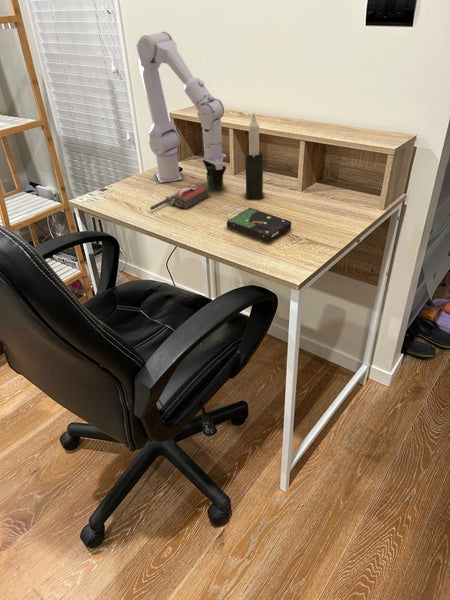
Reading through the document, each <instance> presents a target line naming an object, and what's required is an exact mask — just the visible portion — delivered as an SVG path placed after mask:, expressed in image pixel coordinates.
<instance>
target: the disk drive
mask: <svg viewBox="0 0 450 600" xmlns="http://www.w3.org/2000/svg"><path fill="white" fill-rule="evenodd" d="M226 228H227V229H229V230H231V231H234V232H237V233H239V234H242V235H245V236H247V237H249V238H252V239H255V240H258V241H260V242H263V243H267V244H269V243H271V242H273V241H274V240H276V239H278V238H280V237H281V236H283V235H285V234H286V233H288V232H289V231H290V230H292V221H291V220H288V219H286V218H282V217H279V216H276V215H273V214H270V213H266V212H264V211H261V210H258V209H255V208H252V207H248V208H247V209H245V210H243V211H240V212H239V213H237V214H236V215H234V216H233V217H231V218H227V221H226Z"/></svg>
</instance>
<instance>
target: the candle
mask: <svg viewBox="0 0 450 600" xmlns="http://www.w3.org/2000/svg"><path fill="white" fill-rule="evenodd" d="M251 115H252V117H251V121H250V122H249V125H248V145H249V146H248V149H249V150H248V152H247V153H246V154H245V157H244V158H245V198H246V199H247V200H262V199H263V196H264V154H263V153H262V152H261V151H260V125H259V122H258V121H257V118H256V113H255V112H253V113H252V114H251Z"/></svg>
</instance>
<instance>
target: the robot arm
mask: <svg viewBox="0 0 450 600" xmlns="http://www.w3.org/2000/svg"><path fill="white" fill-rule="evenodd" d="M135 45H136V51H137V55H138V66H139V72H140V75H141V80H142V83H143V87H144V92H145V96H146V97H145V98H146V100H147V104H148V108H149V113H150V117H151V122H152V126H151V127H150V130H149V131H148V136H149V141H148V143H149V148H150V150H151V152H152V153H153V154H154V156H156V166H157V172H155V175H156V177H157V179H158V182H159V183H160V184H163V183H169V182H176V181H182V180H183V177H182V175H181V173H180V169H179V159H178V151H179V147H180V145H181V137H180V135H179V132H178V131H177V127H176V125H175V124H174V123H173V122H171V121H170V117H169V112H168V108H167V103H166V100H165V99H166V98H165V95H164V89H163V85H162V81H161V76H160V72H159V69H160V67H161V65H162V64H166V65H167V66H168V67H169V68H170V69H171V71H173V73H174V74H175V75H176V77H177V78H178V79H179V80H180V81H181V82H182V83H183V86H184V93H185V94H186V96H187V97H188V98H189V100H190V101H191V103H192V104H193V105H194V107H195V109H196V110H197V112H196V114H197V115H196V116H197V118H198V120H199V121H200V126H201V129H202V139H203V140H202V141H203V153H204V154H203V159H202V163H203V164H204V166H205V169H206V173H207V172H209V171H210V174H211V177H212V181H213V185H214V188H219V187H221V183H222V178H223V179H224V174H225V171H226V169H227V166H226V165H223V161H224V159H226V158H227V155H226V153H223V135H222V134H223V133H222V118H223V116H224V114H225V107H224V104H223V102H222V101H221V100H220V99H219V98H217V97H214V96H213V94H211V93H210V91H209V90H208V89H207V87H206V85H205V82H204V81H203V80H202V79H201V78H198V77H194V75H193V74H192V72H191V70H190V69H189V67H188V66H187V64H186V63H185V61H184V59H183V57H182V56H181V54H180V53H179V51H178V47H177V42H176V41H175V40H174V39H173V37H172V35H171V34H170V33H169V32H168V31H161V32H158V33H153V34H143V35H142V36H140V37H139V40H138V41H137V44H135Z"/></svg>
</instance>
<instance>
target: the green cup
mask: <svg viewBox="0 0 450 600" xmlns="http://www.w3.org/2000/svg"><path fill="white" fill-rule="evenodd" d="M205 178H206V187H207V188H208V191H212V192H218V191H222V190H223V189H224V185H225V184H224V177H223V178H222V183H221V187H219V188H214V185H213V181H212V177H211V174H210V171H209V172H207V171H206V173H205Z"/></svg>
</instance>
